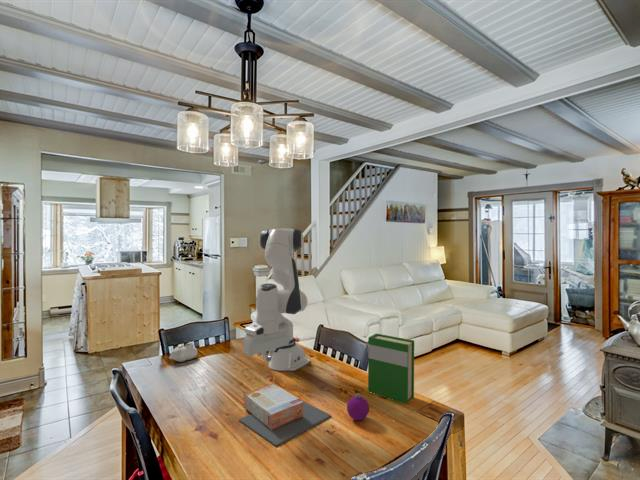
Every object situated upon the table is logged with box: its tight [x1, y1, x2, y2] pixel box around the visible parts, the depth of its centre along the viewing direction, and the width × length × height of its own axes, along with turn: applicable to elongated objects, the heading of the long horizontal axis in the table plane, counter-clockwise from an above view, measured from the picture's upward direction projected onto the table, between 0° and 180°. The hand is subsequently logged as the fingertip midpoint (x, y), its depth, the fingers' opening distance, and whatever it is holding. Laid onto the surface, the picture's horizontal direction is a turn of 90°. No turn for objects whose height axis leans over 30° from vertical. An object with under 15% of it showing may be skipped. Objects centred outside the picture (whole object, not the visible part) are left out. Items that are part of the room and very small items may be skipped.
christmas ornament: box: [346, 393, 370, 421], centre depth 128 cm, size 8×8×10 cm
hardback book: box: [367, 333, 415, 405], centre depth 147 cm, size 18×7×24 cm, turn 54°
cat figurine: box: [168, 342, 198, 363], centre depth 186 cm, size 10×8×15 cm
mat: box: [238, 399, 332, 448], centre depth 127 cm, size 26×22×1 cm
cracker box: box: [243, 383, 304, 430], centre depth 131 cm, size 14×6×21 cm
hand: (267, 361), depth 135 cm, fingers closed
